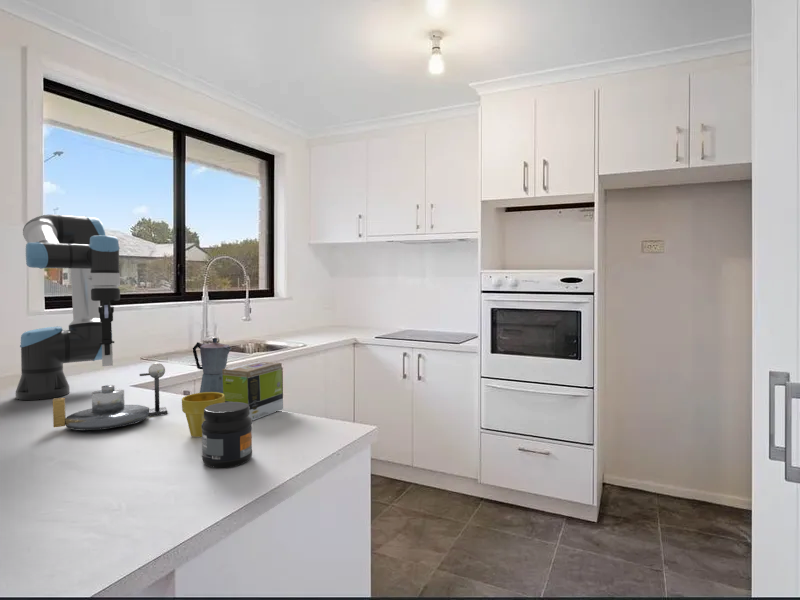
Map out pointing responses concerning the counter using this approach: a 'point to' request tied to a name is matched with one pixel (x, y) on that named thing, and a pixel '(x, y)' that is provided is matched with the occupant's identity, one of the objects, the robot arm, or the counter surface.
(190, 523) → the counter surface
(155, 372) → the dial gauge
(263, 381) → the tea box
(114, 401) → the cover
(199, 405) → the plant pot
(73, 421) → the turntable
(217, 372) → the moka pot
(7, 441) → the counter surface
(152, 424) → the counter surface
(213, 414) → the supplement container
